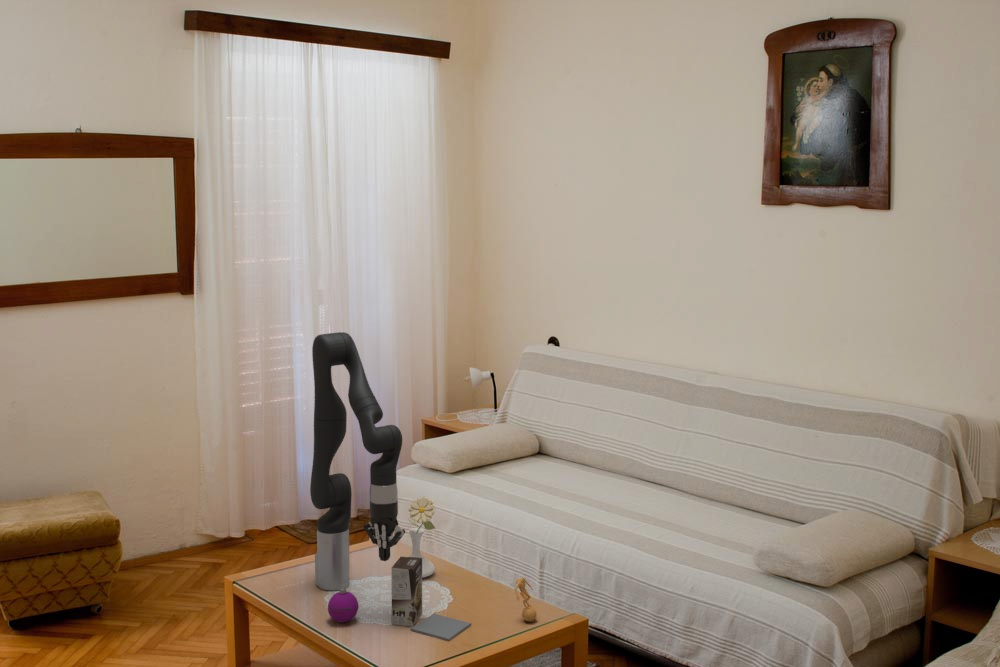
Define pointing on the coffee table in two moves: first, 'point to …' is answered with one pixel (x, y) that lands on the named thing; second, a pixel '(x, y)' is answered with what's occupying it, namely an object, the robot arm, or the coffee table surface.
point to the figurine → (529, 611)
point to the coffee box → (406, 591)
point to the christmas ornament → (343, 606)
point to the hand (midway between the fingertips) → (384, 559)
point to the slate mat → (441, 627)
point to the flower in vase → (420, 513)
